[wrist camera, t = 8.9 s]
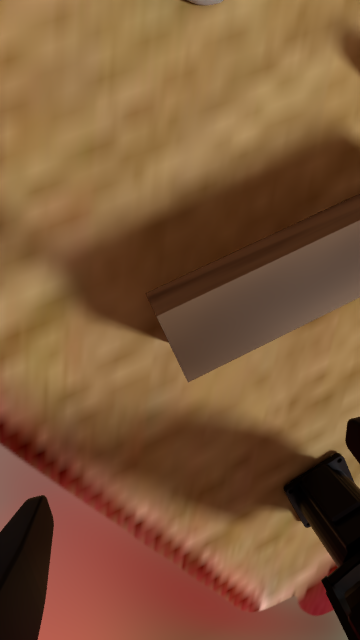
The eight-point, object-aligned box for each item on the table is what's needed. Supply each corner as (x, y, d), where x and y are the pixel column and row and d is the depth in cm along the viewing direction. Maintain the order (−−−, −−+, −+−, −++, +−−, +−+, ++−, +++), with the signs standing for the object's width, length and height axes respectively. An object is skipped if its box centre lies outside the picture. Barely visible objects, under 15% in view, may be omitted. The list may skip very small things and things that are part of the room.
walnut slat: (400, 230, 21) (501, 227, 16) (168, 341, 20) (188, 382, 14) (394, 176, 20) (502, 152, 14) (145, 292, 19) (156, 316, 13)
